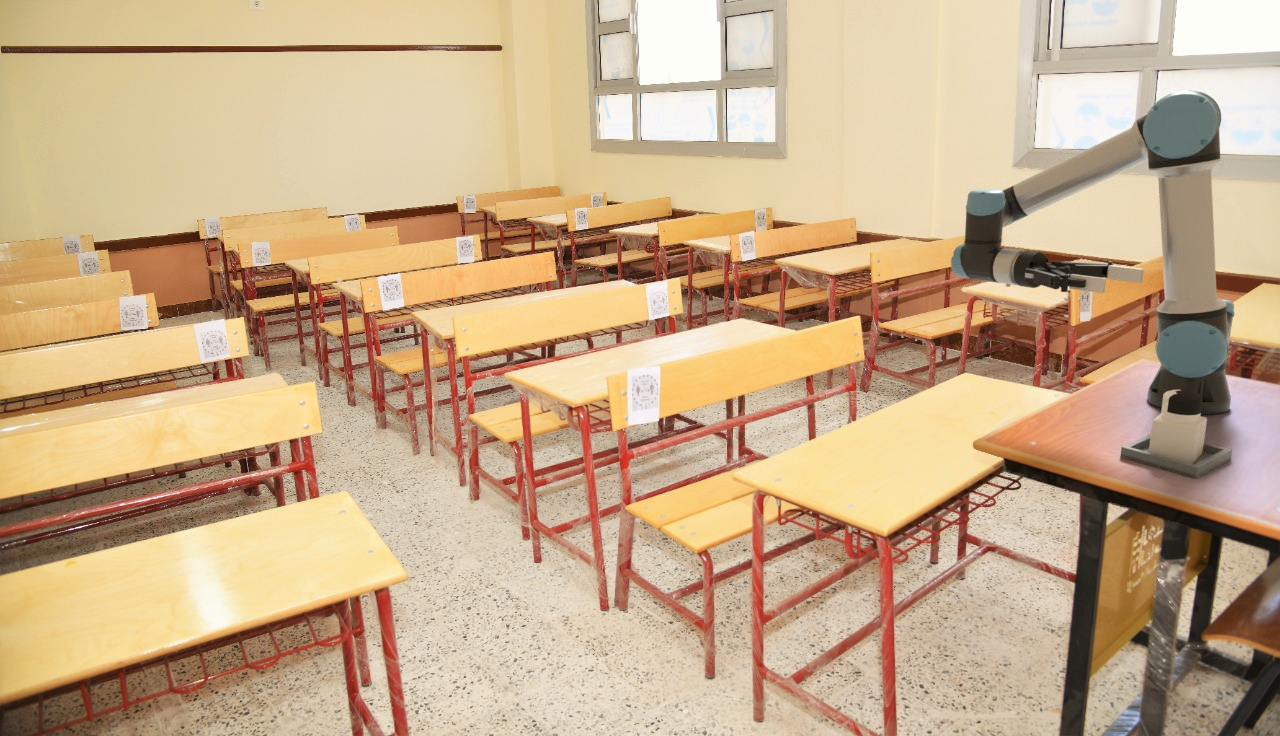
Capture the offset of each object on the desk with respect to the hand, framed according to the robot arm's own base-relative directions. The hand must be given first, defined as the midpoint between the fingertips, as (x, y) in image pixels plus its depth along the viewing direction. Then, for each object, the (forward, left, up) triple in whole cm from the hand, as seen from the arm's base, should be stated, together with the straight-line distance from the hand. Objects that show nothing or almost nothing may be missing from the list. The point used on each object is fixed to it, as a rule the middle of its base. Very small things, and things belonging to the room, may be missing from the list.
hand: (1123, 280), depth 169 cm
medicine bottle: (+6, +16, -30) cm, 34 cm away
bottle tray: (+6, +16, -30) cm, 34 cm away
